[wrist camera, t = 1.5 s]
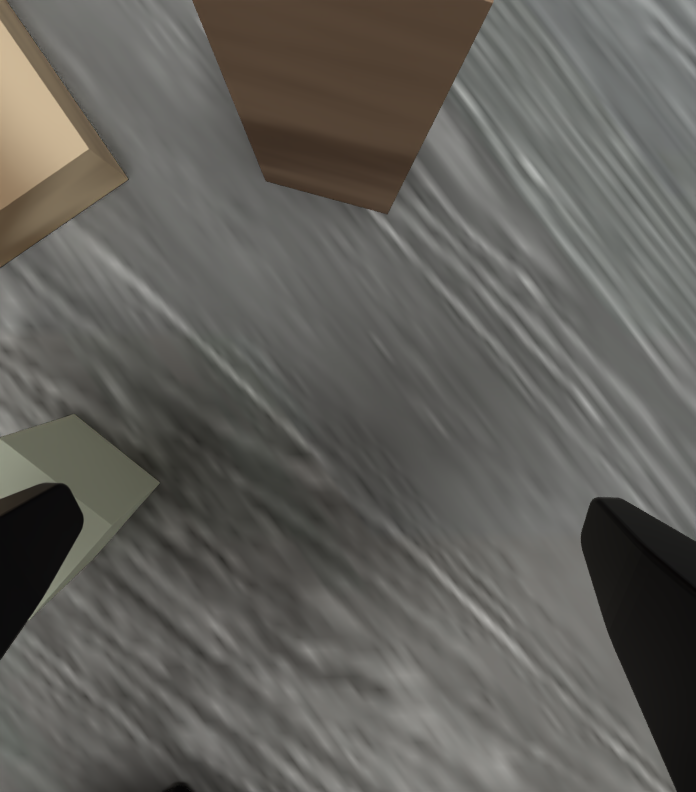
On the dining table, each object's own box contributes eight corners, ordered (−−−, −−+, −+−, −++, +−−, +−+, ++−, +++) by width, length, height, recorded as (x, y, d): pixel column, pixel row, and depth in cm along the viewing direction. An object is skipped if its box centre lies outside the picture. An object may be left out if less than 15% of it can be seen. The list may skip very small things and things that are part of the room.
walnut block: (387, 214, 19) (493, 3, 7) (265, 181, 18) (149, -106, 6) (419, 84, 18) (597, -398, 6) (294, 48, 18) (225, -544, 6)
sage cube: (94, 557, 20) (28, 621, 16) (9, 492, 20) (-86, 538, 15) (160, 482, 20) (111, 525, 15) (75, 413, 19) (-2, 437, 15)
